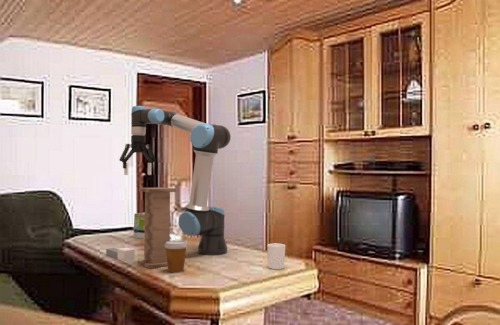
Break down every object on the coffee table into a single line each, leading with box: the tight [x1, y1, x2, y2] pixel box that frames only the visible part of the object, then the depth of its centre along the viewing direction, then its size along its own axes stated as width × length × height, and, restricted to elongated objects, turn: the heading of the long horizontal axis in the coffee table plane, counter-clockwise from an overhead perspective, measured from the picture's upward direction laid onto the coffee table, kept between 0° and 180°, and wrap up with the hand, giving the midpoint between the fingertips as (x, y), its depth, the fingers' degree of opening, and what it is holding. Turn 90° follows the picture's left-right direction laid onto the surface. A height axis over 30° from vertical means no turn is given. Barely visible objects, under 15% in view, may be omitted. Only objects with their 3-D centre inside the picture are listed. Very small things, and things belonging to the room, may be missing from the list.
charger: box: [105, 247, 136, 263], centre depth 217 cm, size 20×5×5 cm, turn 42°
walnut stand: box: [137, 186, 177, 270], centre depth 203 cm, size 12×12×34 cm
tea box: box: [133, 211, 145, 240], centre depth 280 cm, size 15×10×15 cm, turn 159°
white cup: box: [267, 242, 286, 270], centre depth 200 cm, size 8×8×10 cm
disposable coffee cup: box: [165, 240, 188, 273], centre depth 192 cm, size 10×10×12 cm
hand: (137, 174), depth 244 cm, fingers open, 13 cm apart
